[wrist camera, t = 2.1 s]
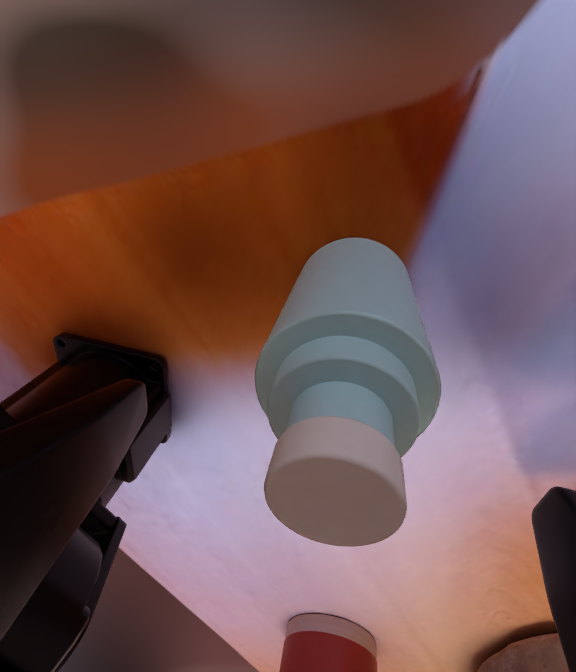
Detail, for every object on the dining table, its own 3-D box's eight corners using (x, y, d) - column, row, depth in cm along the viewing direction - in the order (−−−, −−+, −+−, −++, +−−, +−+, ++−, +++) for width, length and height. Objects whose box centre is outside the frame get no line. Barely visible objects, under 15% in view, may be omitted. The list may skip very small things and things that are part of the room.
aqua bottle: (290, 328, 16) (204, 540, 8) (307, 226, 14) (209, 370, 5) (391, 350, 16) (419, 603, 7) (427, 250, 13) (537, 450, 5)
